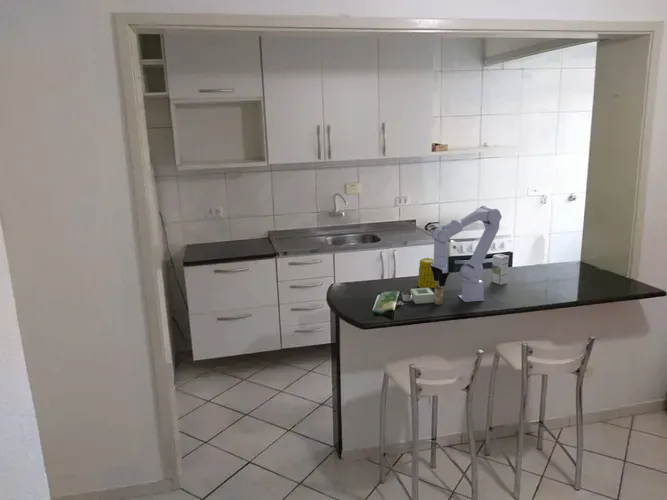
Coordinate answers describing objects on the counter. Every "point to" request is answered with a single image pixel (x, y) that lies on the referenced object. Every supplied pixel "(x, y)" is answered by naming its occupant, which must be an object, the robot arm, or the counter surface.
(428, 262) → the food
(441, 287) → the beech peg
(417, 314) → the counter surface
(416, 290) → the socket block
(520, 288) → the counter surface
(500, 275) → the syrup box
